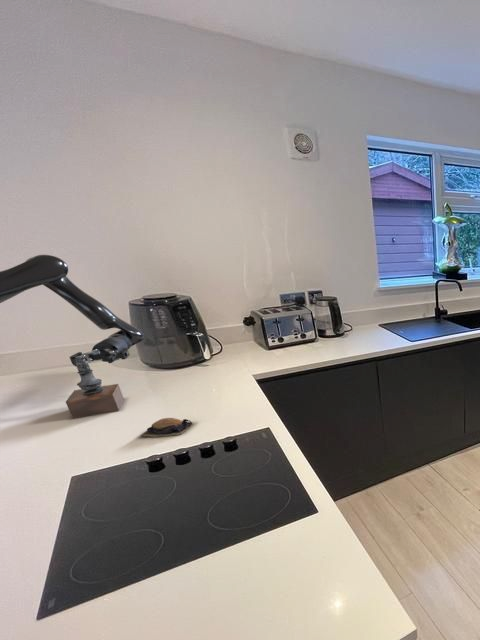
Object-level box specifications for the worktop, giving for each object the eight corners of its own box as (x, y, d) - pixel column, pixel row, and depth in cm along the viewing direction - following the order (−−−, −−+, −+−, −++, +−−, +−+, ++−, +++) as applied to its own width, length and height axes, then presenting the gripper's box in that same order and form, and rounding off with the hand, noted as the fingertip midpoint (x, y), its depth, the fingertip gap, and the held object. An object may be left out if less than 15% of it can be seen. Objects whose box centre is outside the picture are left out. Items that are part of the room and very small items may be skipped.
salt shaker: (81, 397, 129) (66, 362, 124) (80, 392, 132) (66, 357, 128) (106, 392, 133) (93, 358, 128) (104, 387, 136) (91, 354, 132)
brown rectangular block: (72, 418, 128) (65, 401, 125) (80, 406, 136) (74, 390, 134) (119, 410, 134) (112, 394, 131) (124, 399, 142) (118, 383, 140)
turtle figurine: (140, 438, 118) (135, 427, 116) (158, 425, 125) (154, 414, 124) (180, 436, 119) (176, 425, 118) (195, 422, 127) (192, 412, 126)
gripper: (81, 341, 144) (59, 354, 130) (132, 337, 150) (115, 349, 136) (89, 360, 147) (68, 375, 133) (138, 356, 153) (123, 369, 139)
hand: (92, 362), depth 135 cm, fingers open, 8 cm apart
